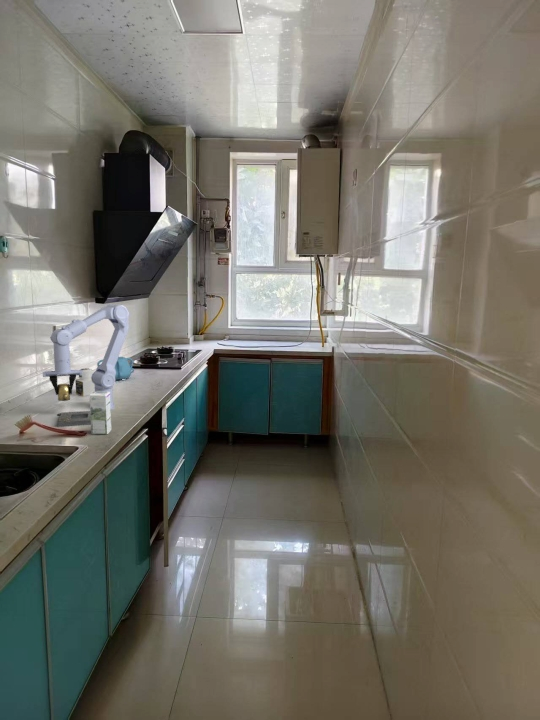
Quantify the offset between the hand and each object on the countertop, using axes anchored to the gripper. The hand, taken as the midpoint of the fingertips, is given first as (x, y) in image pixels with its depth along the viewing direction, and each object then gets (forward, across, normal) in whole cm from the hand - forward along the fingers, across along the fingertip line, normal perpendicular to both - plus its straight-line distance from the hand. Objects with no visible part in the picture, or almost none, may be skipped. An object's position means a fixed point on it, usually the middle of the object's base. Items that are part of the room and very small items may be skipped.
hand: (64, 393), depth 202 cm
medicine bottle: (+9, -7, -36) cm, 38 cm away
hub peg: (+2, 0, 0) cm, 2 cm away
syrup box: (+9, -14, +28) cm, 32 cm away
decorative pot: (+9, -21, -70) cm, 73 cm away
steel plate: (+9, -6, +10) cm, 15 cm away
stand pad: (+9, 0, 0) cm, 9 cm away
